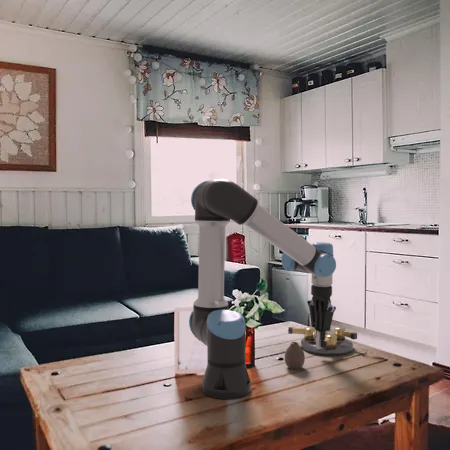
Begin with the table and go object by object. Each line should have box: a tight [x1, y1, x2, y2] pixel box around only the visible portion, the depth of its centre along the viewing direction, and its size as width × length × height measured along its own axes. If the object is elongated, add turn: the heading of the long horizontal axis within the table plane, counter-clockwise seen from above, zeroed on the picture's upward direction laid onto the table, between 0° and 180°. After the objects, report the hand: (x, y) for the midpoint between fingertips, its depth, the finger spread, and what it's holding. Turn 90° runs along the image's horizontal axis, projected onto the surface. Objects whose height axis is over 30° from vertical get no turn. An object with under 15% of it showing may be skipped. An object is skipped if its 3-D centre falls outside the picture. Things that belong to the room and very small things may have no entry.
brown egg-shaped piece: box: [284, 341, 306, 371], centre depth 164 cm, size 7×7×9 cm
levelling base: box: [300, 327, 354, 357], centre depth 186 cm, size 20×20×8 cm
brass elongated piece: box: [333, 326, 358, 341], centre depth 187 cm, size 11×4×4 cm, turn 31°
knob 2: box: [321, 334, 337, 349], centre depth 177 cm, size 11×4×4 cm, turn 149°
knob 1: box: [287, 326, 316, 341], centre depth 190 cm, size 11×4×4 cm, turn 76°
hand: (320, 347), depth 175 cm, fingers closed
